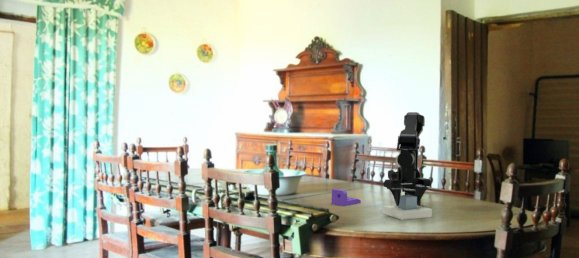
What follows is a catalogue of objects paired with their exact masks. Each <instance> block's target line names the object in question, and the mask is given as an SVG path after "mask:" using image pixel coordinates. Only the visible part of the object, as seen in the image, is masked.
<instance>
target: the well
mask: <svg viewBox="0 0 579 258" xmlns="http://www.w3.org/2000/svg"><path fill="white" fill-rule="evenodd" d="M382 210H383V211H382V213H383V214H384V215H387V216H390V217H392V218H396V219H399V220H401V221H403V220H404V221H405V220H414V219H415V220H416V219H423V218H425V219H426V218H433V209H432V208H429V207H425V206H423V207H422V206H418V205H417V209H412V210H404V209H400V208H398V206H396V204H392V205H383V209H382Z"/></svg>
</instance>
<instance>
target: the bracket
mask: <svg viewBox="0 0 579 258" xmlns="http://www.w3.org/2000/svg"><path fill="white" fill-rule="evenodd" d="M361 202H362V201H361V199H359V198H354V197H350V196H348V192H347V191H346V190H344V189H337V188H332V189H331V205H333V204H336V205H335V206H339V205H341V207H348V206H352V205H358V204H361ZM347 205H348V206H347Z"/></svg>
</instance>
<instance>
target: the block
mask: <svg viewBox="0 0 579 258" xmlns="http://www.w3.org/2000/svg"><path fill="white" fill-rule="evenodd" d="M398 208H400V209H404V210H412V209H417V197H416V196H412V195H405V194H401V195H400V203H399V206H398Z"/></svg>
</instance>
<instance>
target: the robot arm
mask: <svg viewBox="0 0 579 258" xmlns="http://www.w3.org/2000/svg"><path fill="white" fill-rule="evenodd" d="M425 122H426V120H425V116H424V115H422V114H420V113H419V112H415V111H413V112H412V111H411V112H406V114H405V115H404V116H403V125H404V129H402V130H401V131H400V133H399V135H398V136H397V142H396V143H397V144H396V151H397V152H399V151H400V153H399V154H398V155H397V159H396V161H397V164H398V165H399V167H398V168H397V171H395V170H394V169H392V170H391V169H390V170H388V171H387V178H388V179H385V180H384V181H383V187H384V188H386V190H389V191H390V192H391V194H392V197H393V199H394V203H395V205H396V206H399V203H400V195H402V194H401V193H404V195H412V196H416V197H417V205H418V206H422V207H424V205H422V204H421V201H422V197H424V195H425V193H426V191H427V190H428V189H429V188H430V187H432V181H431V179H429V178H427V177H422V174H421V173H420V170H419V150H420V146H421V139H420V135H421V134H422V133H423V131H424V127H425V126H426V125H425Z"/></svg>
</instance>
